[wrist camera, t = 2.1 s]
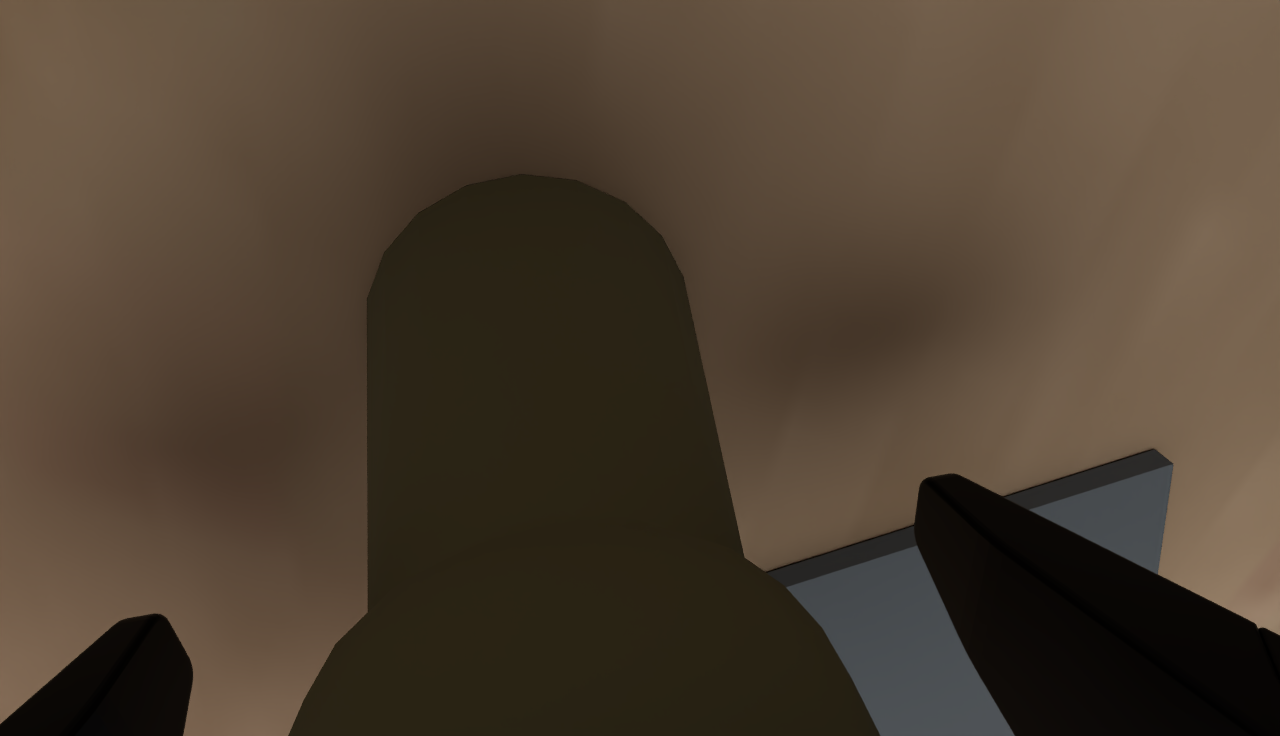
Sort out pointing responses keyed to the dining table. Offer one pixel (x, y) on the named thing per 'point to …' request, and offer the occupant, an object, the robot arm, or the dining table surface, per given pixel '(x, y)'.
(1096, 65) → the dining table surface
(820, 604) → the slate coaster
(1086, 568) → the robot arm
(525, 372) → the dark olive bulbous piece
